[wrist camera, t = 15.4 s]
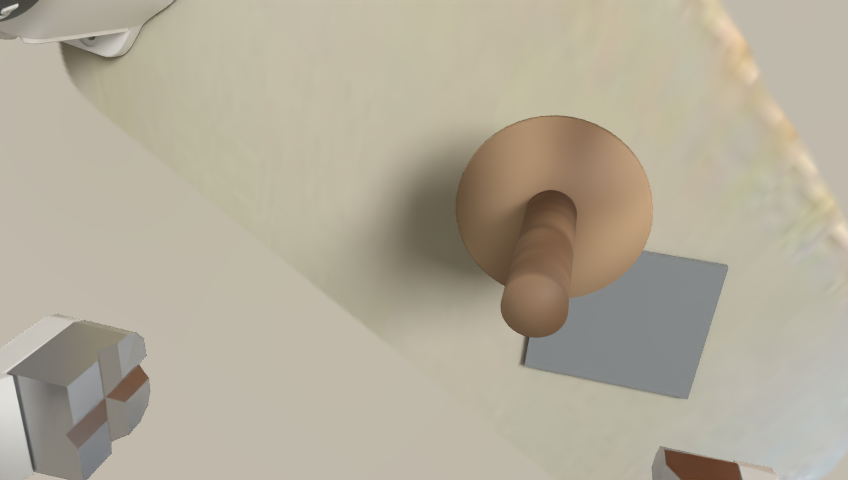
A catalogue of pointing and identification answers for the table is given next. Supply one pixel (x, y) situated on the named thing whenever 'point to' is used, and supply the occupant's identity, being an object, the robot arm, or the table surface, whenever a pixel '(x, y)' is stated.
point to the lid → (553, 215)
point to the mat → (638, 327)
